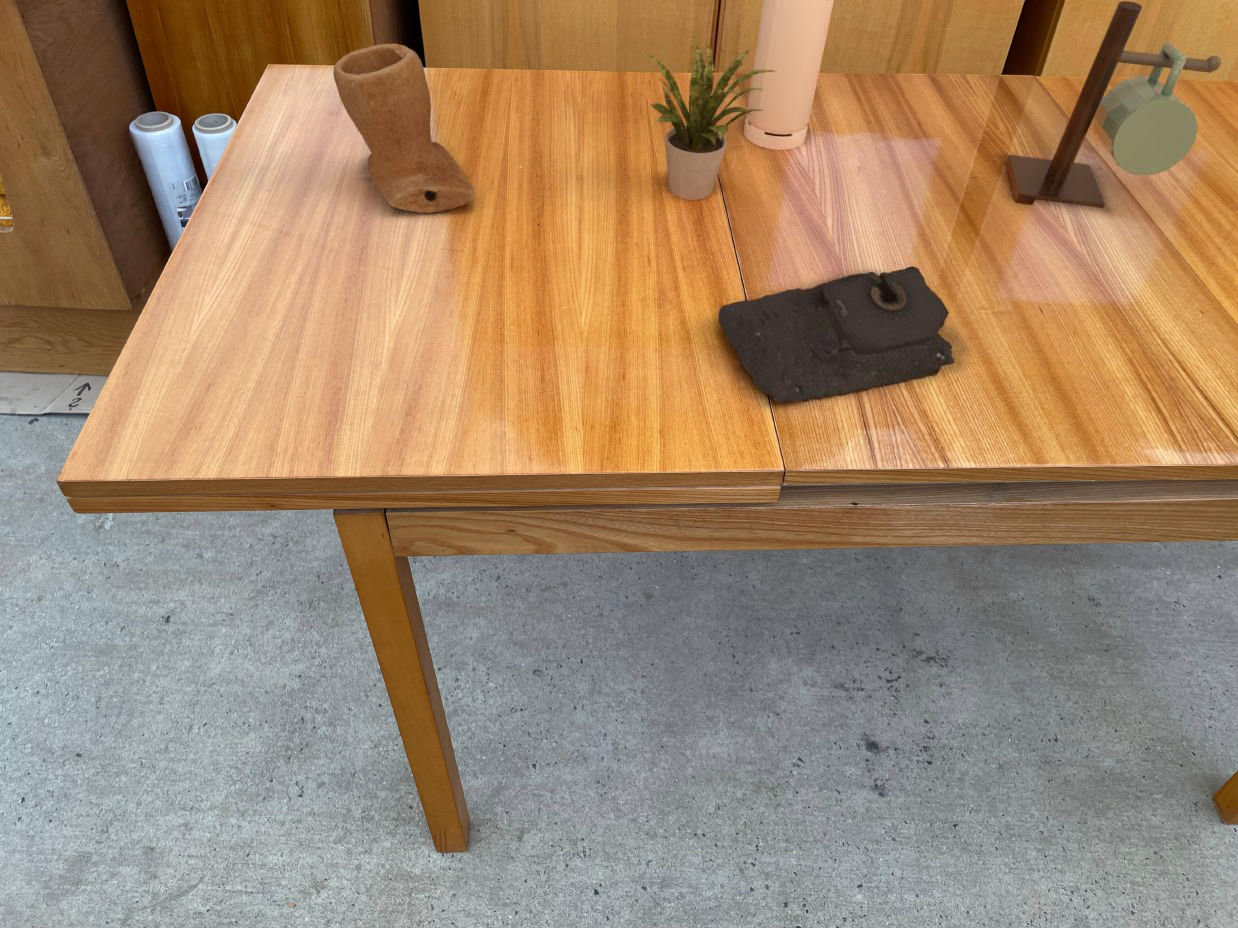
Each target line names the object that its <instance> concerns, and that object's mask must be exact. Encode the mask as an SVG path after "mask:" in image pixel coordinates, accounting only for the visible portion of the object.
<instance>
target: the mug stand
mask: <svg viewBox="0 0 1238 928" xmlns="http://www.w3.org/2000/svg"><path fill="white" fill-rule="evenodd" d="M1142 10H1143V6H1142V5H1141V4H1139V3H1138V2H1134V1H1128V0H1123V1H1119V2H1118V3H1117V5H1116V8H1115V10H1114V13H1113V15H1112V18H1111V20H1110V22H1109V24H1108V27H1107V29H1106V31H1105V34H1104V37H1103V39H1102V41H1101V44H1100V46H1099V49H1098V51H1097V53H1096V55H1095V58H1094V60H1093V63H1092V65H1091V67H1090V69H1089V72H1088V74H1087V76H1086V79H1085V82H1084V84H1083V87H1082V89H1081V91H1080V93H1079V96H1078V98H1077V100H1076V103H1075V105H1074V106H1073V107H1074V108H1073V109H1072V112H1071V114H1070V117H1069V119H1068V122H1067V123H1066V127H1065V129H1064V131H1063V133H1062V135H1061V138H1060V140H1059V143H1058V145H1057V147H1056V150H1055V153H1054V154H1053V157H1052V159H1045V158H1039V157H1030V156H1023V155H1014V154H1008V156H1007V159H1006V161H1005V167H1006V170H1007V174H1008V179H1009V182H1010V186H1011V190H1012V194H1013V199H1014V202H1015V203H1018V204H1027V205H1034V203H1035V201H1036V200H1038V201H1045V202H1053V203H1061V204H1069V205H1077V206H1084V207H1091V208H1100V209H1104V208H1105V206H1106V203H1105V200H1104V197H1103V195H1102V193H1101V191H1100V188H1099V185H1098V183H1097V179H1096V177H1095V175H1094V172H1093V169H1092V167H1091V165H1090V164H1086V163H1078V162H1075V161H1076V158H1077V156H1078V154H1079V152H1080V150H1081V147H1082V145H1083V143H1084V141H1085V138H1086V136H1087V134H1088V132H1089V129H1090V127H1091V125H1092V123H1093V121H1094V116H1095V113H1096V111H1097V109H1098V107H1099V104H1100V102H1101V100H1102V98H1103V97H1104V96H1105V94H1106V91H1107V89H1108V86H1109V84H1110V82H1111V80H1112V77H1113V75H1114V73H1115V71H1116V68H1117V67H1118V63H1120V64H1129V65H1137V66H1139V65H1140V66H1147V67H1154V66H1155V67H1164V68H1165V69H1172V66H1173V64H1174V61H1172V60H1171V59H1170V58H1169V57H1168V56H1167V55H1159V53H1158V54H1157V53H1148V52H1141V51H1131V50H1125V48H1126V46H1127V44H1128V41H1129V38H1130V36H1131V35H1132V32H1133V30H1134V28H1135V25H1136V23H1137V21H1138V18H1139V17H1140V14H1141V12H1142ZM1221 64H1222V59H1221V57H1220V56H1217V55H1211V56H1209V57H1207V58H1206V59H1203V58H1202V59H1201V58H1195V57H1194V58H1193V57H1186V62H1185V64H1184V66H1183V69H1182V71H1190V72H1191V71H1192V72H1198V73H1199V72H1200V73H1209V74H1210V73H1213V72H1215V71H1217V70H1218V69H1220V68H1221ZM1164 68H1163V69H1164Z"/></svg>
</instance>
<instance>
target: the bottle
mask: <svg viewBox="0 0 1238 928" xmlns="http://www.w3.org/2000/svg"><path fill="white" fill-rule="evenodd" d="M834 2H835V0H763V2H762V7H761V8H762V9H761V15H760V20H759V26H758V27H759V28H758V33H757V34H758V35H757V41H756V48H755V54H754V61H753V67H752V71H755V70H774V71H775V72H766V73H759V74H756V75H754V76H752V77H751V80H750V86H749V88H760V89H763V90H751V91H749V94H748V100H747V106H746V110H749V109H760V110H763V111H752V112H749V113H750V114H749V113H747V114H746V118H745V119H744V126H743V136H744V137H745V139H746V140H748V141H749V142H750V143H751V144H754V145H756V146H758V147H760V148H764V149H769V150H777V151H784V150H792V149H795V148H798V147H800V146H802V145H804V143H805V141H806V139H807V138H806V137H807V133H808V124H809V122H810V119H811V115H812V109H813V104H814V99H815V94H816V90H817V85H818V80H819V75H820V70H821V66H822V60H823V56H824V50H825V46H826V41H827V37H828V36H827V35H828V31H829V27H830V23H831V22H830V21H831V17H832V12H833V7H834ZM778 71H779V72H778ZM764 110H765V111H764ZM751 114H752V115H751ZM766 133H769V134H766ZM771 134H773V135H771ZM777 135H788V136H777Z"/></svg>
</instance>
